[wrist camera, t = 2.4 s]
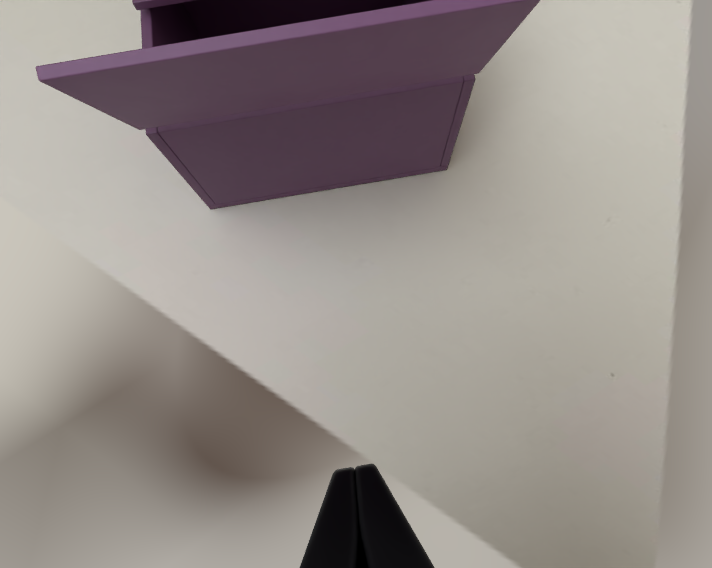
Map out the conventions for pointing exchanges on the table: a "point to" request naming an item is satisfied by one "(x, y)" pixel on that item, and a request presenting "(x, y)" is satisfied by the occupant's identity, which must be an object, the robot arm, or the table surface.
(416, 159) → the box
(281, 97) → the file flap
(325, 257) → the table surface
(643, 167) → the table surface
